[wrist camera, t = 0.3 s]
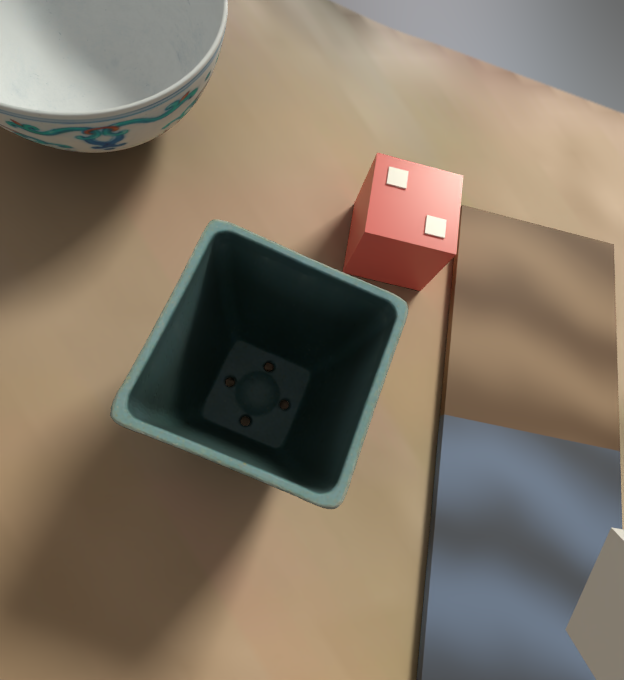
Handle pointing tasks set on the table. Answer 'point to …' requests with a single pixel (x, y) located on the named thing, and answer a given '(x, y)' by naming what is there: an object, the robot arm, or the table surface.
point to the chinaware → (104, 68)
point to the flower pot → (253, 353)
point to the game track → (521, 451)
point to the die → (404, 223)
